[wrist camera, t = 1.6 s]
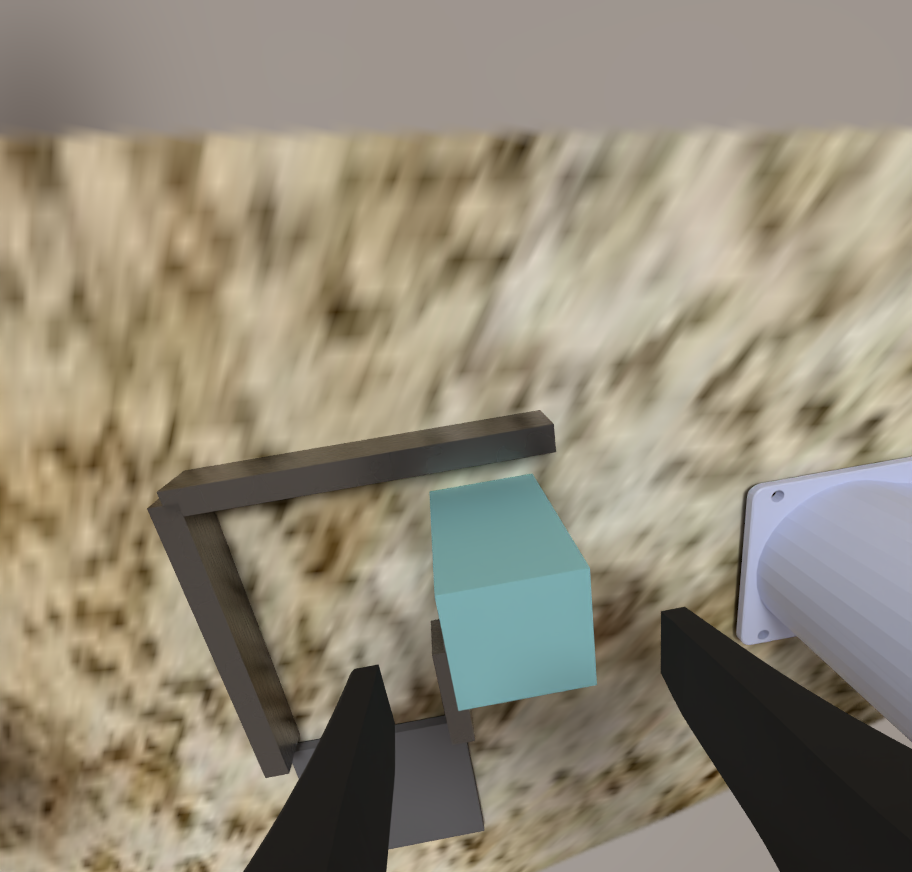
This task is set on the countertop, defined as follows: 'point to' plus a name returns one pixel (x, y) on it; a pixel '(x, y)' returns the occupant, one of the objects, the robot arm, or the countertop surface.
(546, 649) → the teal block
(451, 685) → the rail
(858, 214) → the countertop surface
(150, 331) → the countertop surface
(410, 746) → the rubber pad
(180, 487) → the outer rail
